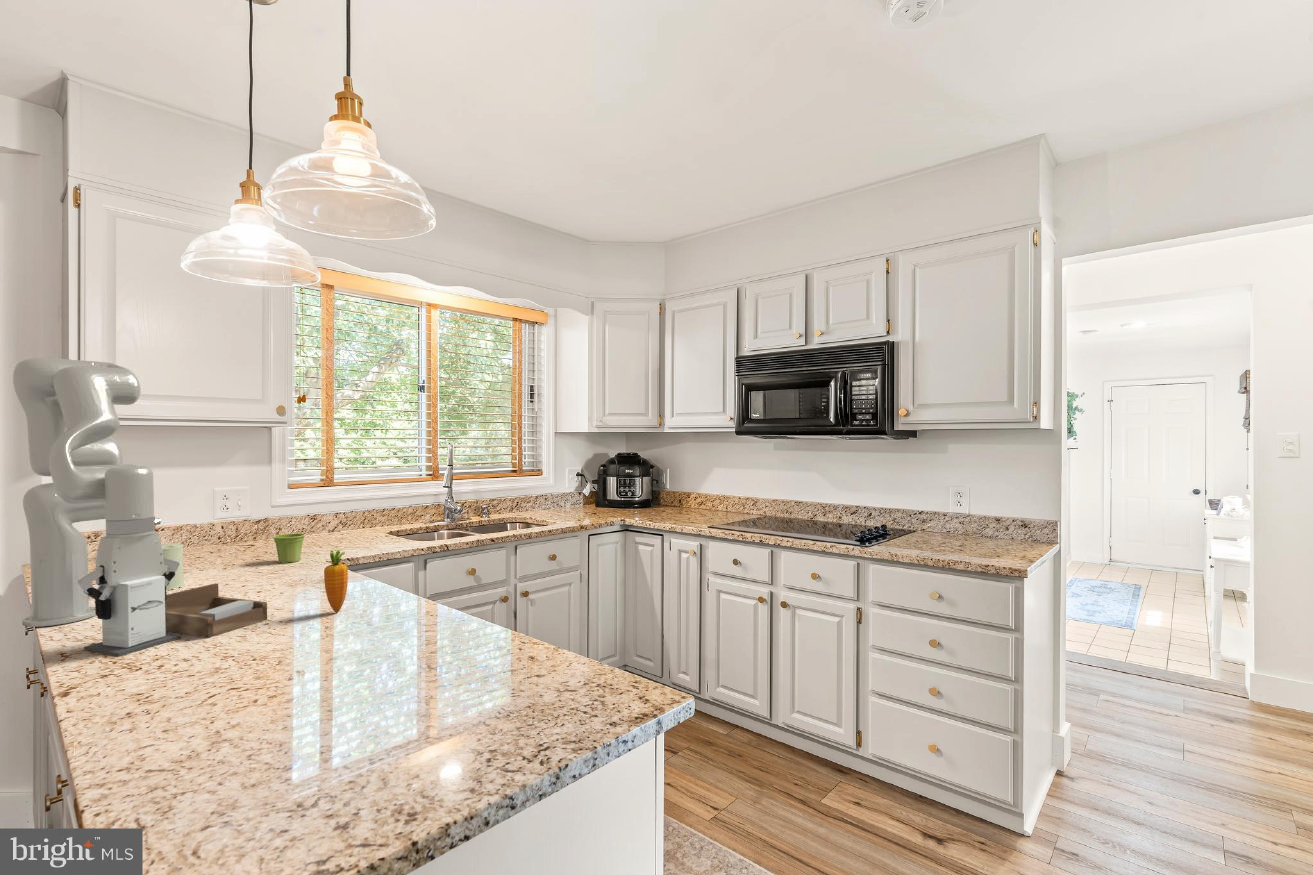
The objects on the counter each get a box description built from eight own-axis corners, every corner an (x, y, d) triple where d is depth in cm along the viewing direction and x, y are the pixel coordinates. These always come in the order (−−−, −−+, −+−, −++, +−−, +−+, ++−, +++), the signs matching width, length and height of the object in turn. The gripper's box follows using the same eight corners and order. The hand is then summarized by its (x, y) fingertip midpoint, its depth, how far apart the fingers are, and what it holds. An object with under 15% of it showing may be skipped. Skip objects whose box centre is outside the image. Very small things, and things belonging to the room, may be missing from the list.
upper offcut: (199, 623, 132) (199, 612, 132) (238, 611, 141) (238, 600, 141) (215, 625, 131) (215, 613, 131) (253, 611, 141) (253, 601, 140)
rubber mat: (83, 649, 123) (83, 646, 123) (146, 632, 133) (146, 629, 133) (118, 656, 119) (118, 653, 119) (180, 638, 129) (180, 635, 129)
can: (166, 592, 167) (165, 547, 167) (132, 592, 168) (131, 548, 167) (192, 583, 177) (191, 541, 177) (160, 584, 177) (159, 542, 177)
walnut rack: (155, 629, 135) (154, 597, 135) (216, 612, 147) (215, 583, 147) (208, 637, 129) (207, 604, 129) (267, 619, 141) (266, 588, 141)
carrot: (325, 611, 147) (324, 548, 147) (349, 608, 149) (348, 546, 149) (323, 617, 142) (322, 551, 142) (348, 614, 144) (346, 549, 144)
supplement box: (127, 648, 121) (126, 584, 121) (101, 645, 123) (99, 581, 123) (167, 636, 128) (165, 575, 128) (141, 633, 130) (140, 573, 130)
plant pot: (287, 558, 211) (286, 532, 211) (312, 558, 210) (311, 533, 210) (266, 564, 202) (265, 537, 202) (292, 564, 201) (292, 537, 201)
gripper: (165, 520, 135) (167, 599, 135) (66, 533, 119) (68, 622, 119) (188, 522, 132) (190, 602, 133) (90, 535, 116) (92, 626, 116)
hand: (132, 611), depth 126 cm, fingers open, 9 cm apart
